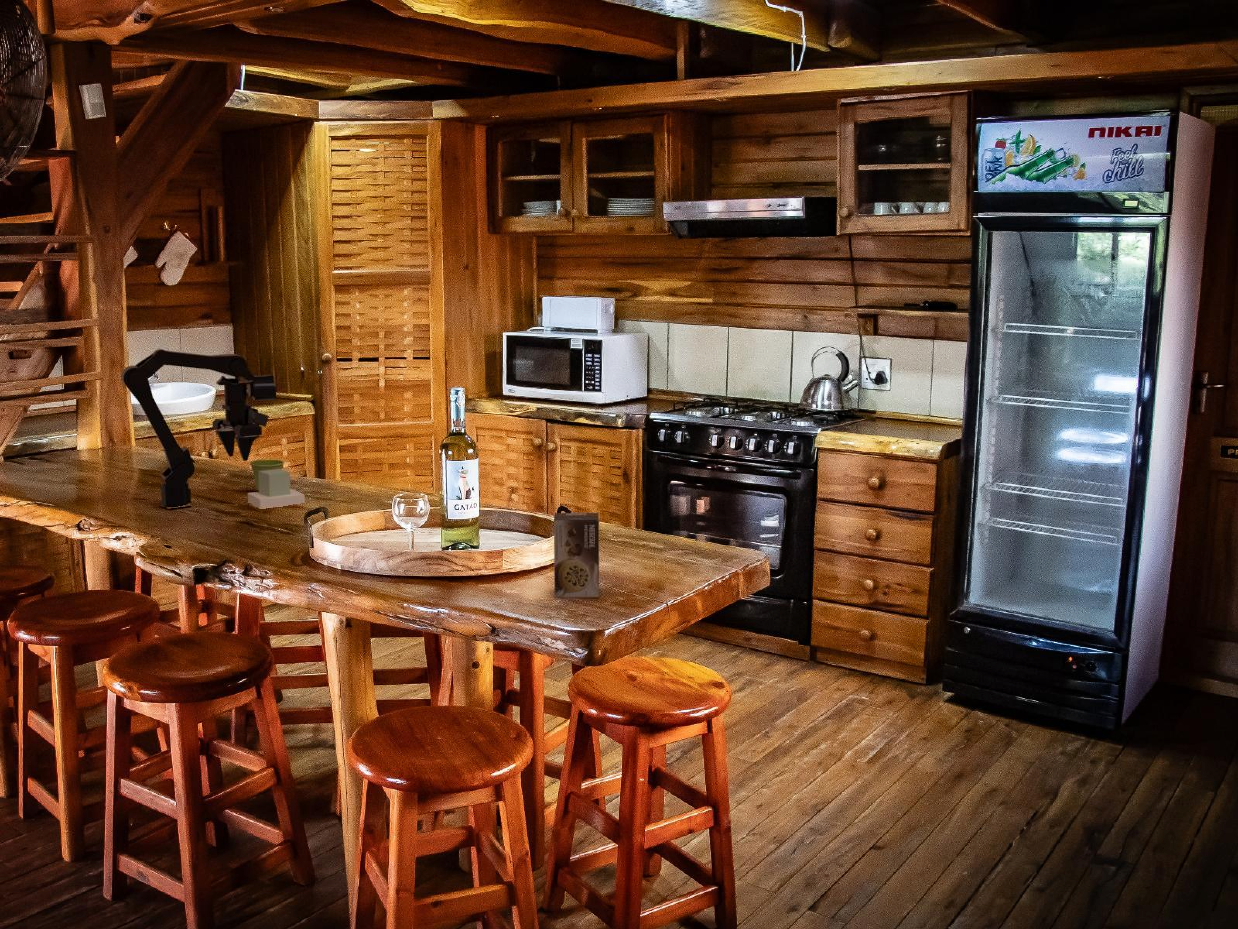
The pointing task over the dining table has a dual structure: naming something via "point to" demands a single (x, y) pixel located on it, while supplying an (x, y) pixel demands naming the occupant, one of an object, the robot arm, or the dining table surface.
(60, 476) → the dining table surface
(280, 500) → the plinth
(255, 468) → the plant pot
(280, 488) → the sage cube
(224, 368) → the robot arm
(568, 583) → the coffee box
